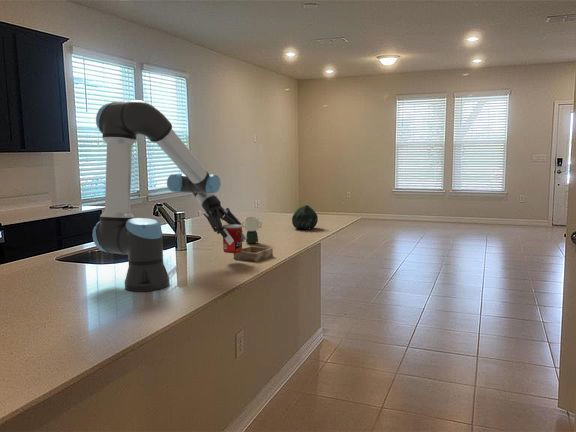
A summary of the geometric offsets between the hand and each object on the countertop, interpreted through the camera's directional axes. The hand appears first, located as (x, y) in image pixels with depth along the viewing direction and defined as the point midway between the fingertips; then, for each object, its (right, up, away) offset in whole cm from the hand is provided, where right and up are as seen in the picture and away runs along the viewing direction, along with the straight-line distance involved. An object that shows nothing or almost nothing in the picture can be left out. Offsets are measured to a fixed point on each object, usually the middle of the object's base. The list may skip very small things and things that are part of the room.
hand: (238, 241), depth 205 cm
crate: (+5, -8, +12) cm, 15 cm away
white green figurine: (+2, -4, +45) cm, 46 cm away
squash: (+31, +3, +87) cm, 93 cm away
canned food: (-3, -5, +2) cm, 6 cm away
